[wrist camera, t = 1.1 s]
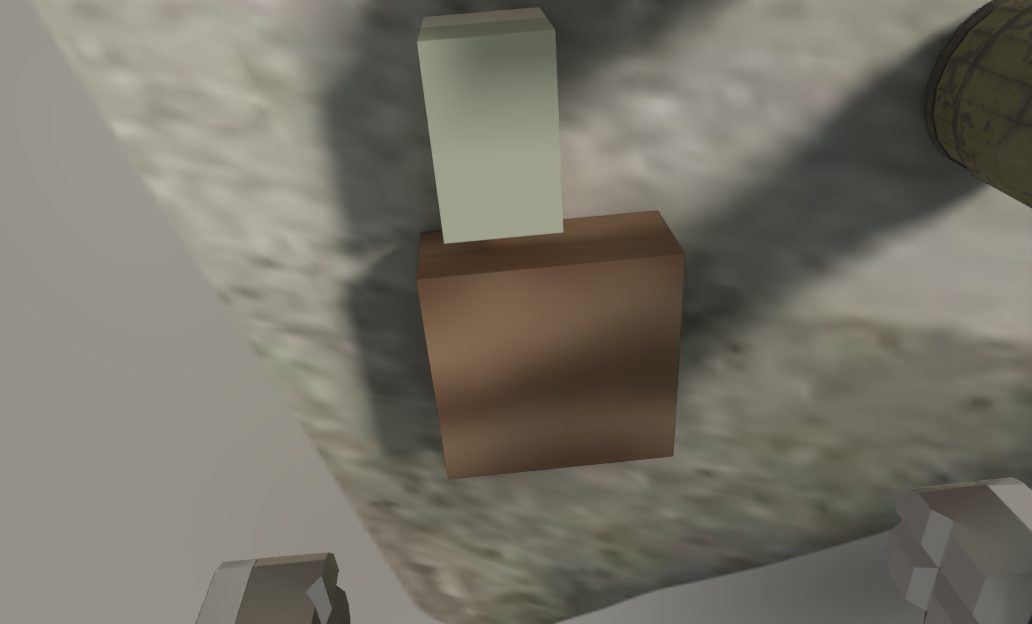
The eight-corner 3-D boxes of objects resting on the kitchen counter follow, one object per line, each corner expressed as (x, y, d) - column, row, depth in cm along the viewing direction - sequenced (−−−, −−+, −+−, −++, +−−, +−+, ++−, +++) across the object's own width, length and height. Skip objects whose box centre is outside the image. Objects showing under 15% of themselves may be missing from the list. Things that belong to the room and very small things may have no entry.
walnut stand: (420, 232, 36) (416, 279, 31) (657, 210, 36) (685, 254, 32) (449, 418, 42) (448, 479, 37) (651, 398, 42) (673, 456, 38)
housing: (423, 16, 31) (416, 41, 25) (539, 6, 31) (555, 29, 26) (446, 191, 35) (444, 243, 30) (547, 182, 35) (563, 232, 30)
